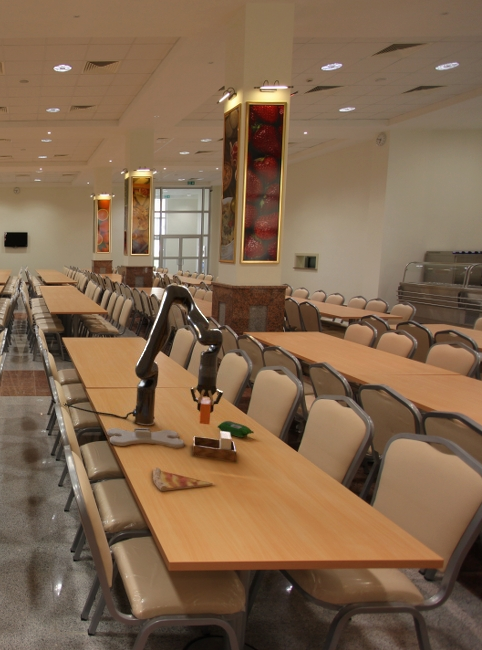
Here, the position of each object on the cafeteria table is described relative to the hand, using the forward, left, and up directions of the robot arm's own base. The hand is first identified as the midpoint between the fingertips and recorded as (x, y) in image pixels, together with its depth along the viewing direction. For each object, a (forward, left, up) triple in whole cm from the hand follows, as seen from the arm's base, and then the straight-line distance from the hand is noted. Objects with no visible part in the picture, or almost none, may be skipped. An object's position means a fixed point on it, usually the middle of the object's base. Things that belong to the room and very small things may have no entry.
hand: (204, 411), depth 225 cm
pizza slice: (-9, -40, -19) cm, 45 cm away
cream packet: (+9, -2, -18) cm, 20 cm away
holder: (-26, +4, -19) cm, 32 cm away
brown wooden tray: (+5, -2, -19) cm, 19 cm away
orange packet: (0, 0, -4) cm, 4 cm away
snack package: (+16, +28, -19) cm, 37 cm away
